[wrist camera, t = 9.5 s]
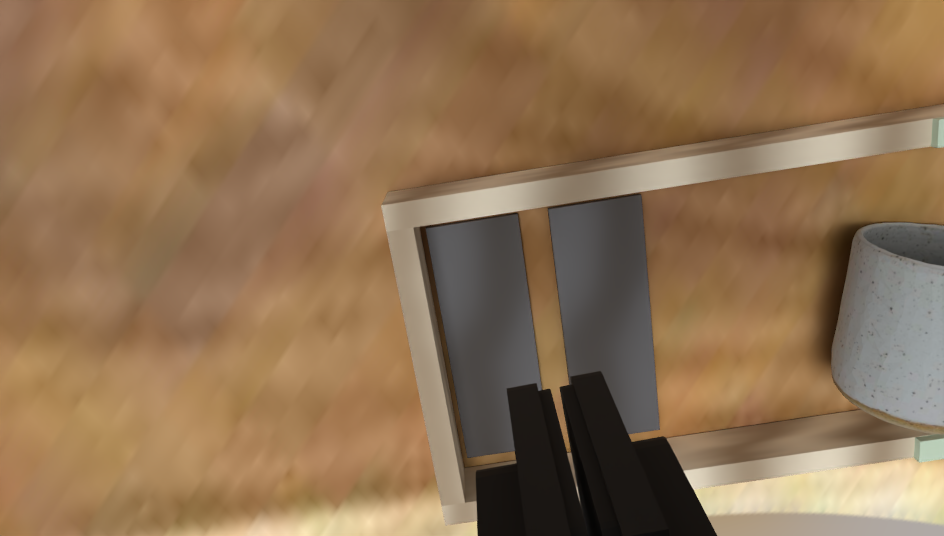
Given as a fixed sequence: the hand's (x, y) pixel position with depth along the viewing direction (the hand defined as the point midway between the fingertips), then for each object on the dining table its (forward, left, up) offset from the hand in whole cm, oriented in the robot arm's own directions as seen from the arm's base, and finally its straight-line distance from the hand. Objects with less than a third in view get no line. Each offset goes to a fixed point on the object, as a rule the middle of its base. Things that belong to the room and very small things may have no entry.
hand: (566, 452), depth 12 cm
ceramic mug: (-14, +17, -22) cm, 31 cm away
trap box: (-6, +12, -22) cm, 25 cm away
